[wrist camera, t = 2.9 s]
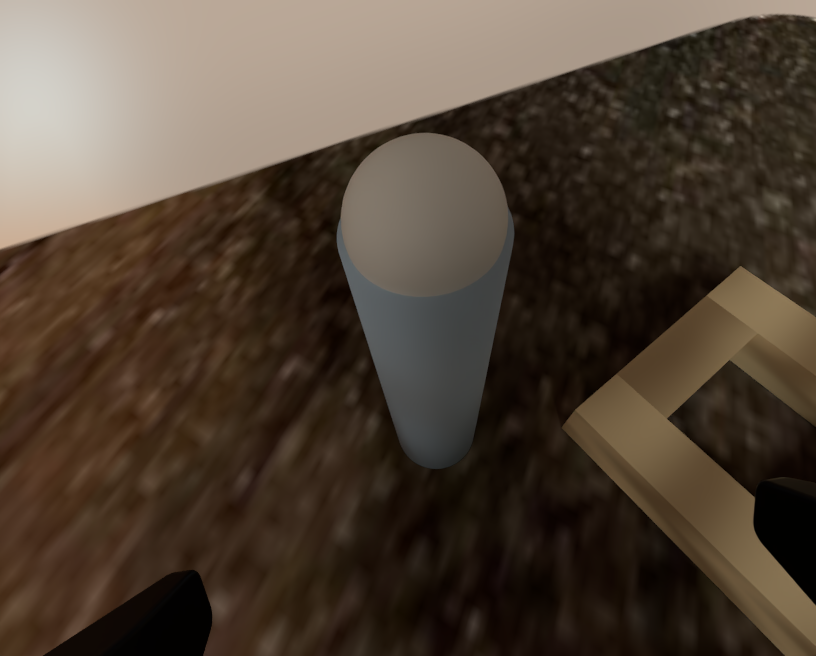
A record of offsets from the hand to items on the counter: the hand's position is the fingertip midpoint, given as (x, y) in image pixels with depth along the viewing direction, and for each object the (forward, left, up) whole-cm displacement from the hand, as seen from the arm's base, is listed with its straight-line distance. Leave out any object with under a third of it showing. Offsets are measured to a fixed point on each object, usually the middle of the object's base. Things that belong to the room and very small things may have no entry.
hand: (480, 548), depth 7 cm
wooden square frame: (-4, -13, -13) cm, 19 cm away
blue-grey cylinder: (+5, -3, -13) cm, 14 cm away
